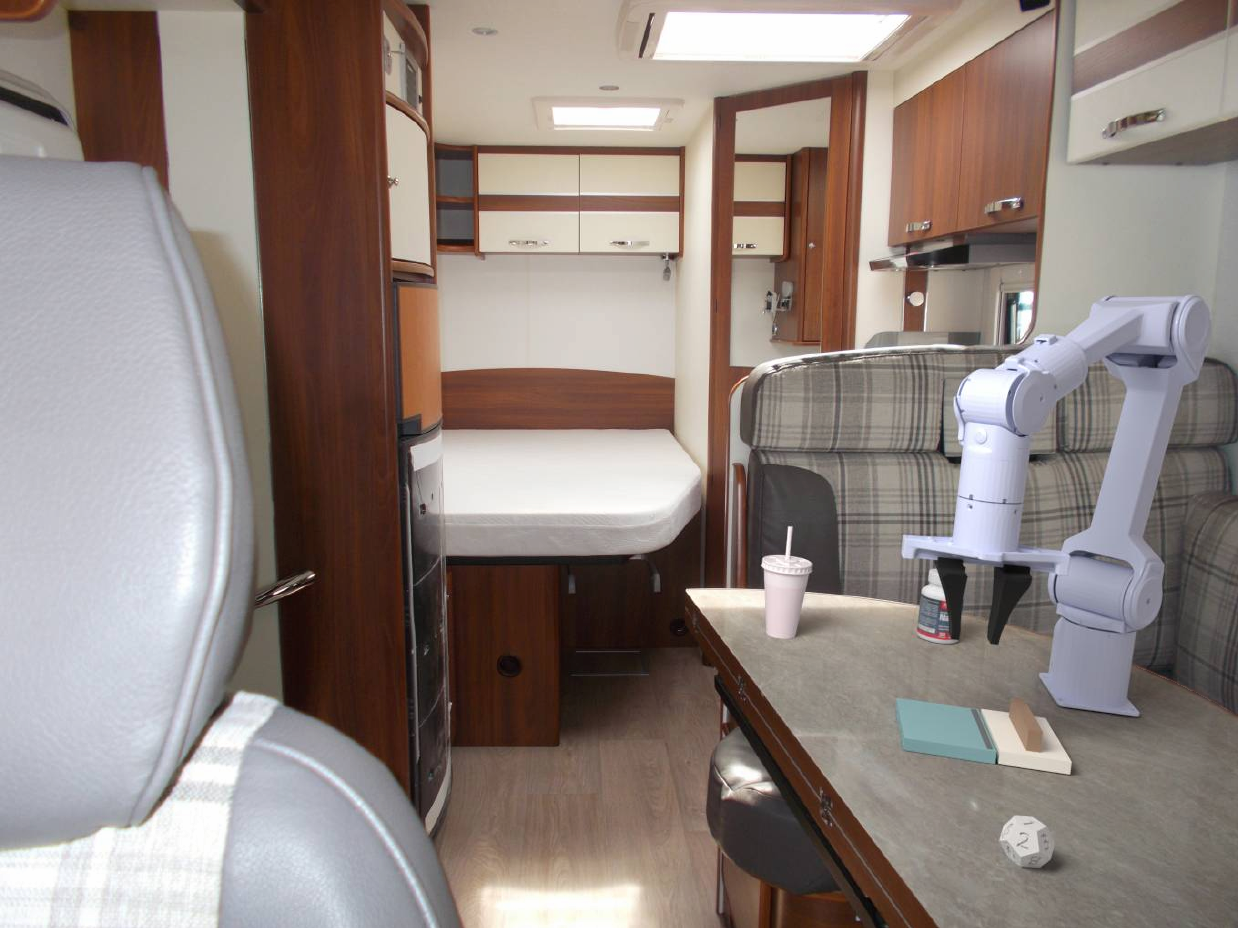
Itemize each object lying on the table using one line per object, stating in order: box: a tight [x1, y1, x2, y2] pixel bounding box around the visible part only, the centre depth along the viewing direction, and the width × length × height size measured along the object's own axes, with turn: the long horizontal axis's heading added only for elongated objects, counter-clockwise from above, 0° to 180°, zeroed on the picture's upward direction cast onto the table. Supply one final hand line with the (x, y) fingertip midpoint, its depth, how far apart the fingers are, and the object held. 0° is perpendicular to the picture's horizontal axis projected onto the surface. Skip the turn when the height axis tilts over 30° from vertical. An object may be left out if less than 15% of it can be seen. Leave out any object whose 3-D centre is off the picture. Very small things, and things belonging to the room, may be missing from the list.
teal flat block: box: [894, 697, 997, 765], centre depth 86 cm, size 10×8×1 cm
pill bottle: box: [916, 568, 965, 645], centre depth 116 cm, size 5×5×9 cm
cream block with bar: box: [980, 696, 1073, 775], centre depth 85 cm, size 10×6×3 cm, turn 167°
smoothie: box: [760, 525, 813, 640], centre depth 113 cm, size 6×6×14 cm
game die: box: [998, 815, 1056, 869], centre depth 65 cm, size 4×4×3 cm
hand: (973, 639), depth 85 cm, fingers open, 3 cm apart
